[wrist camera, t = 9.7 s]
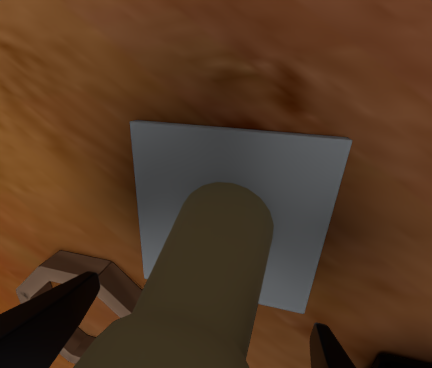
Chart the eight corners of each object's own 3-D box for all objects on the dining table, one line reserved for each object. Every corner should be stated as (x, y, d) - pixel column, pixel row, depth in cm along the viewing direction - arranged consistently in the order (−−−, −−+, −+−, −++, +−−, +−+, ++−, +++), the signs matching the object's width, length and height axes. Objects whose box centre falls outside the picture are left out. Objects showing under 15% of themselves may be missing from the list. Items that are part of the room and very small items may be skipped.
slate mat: (347, 137, 12) (352, 140, 11) (302, 304, 16) (303, 313, 16) (136, 120, 14) (129, 121, 13) (149, 271, 18) (144, 278, 18)
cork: (183, 172, 14) (-52, 386, 4) (285, 194, 13) (338, 556, 3) (177, 251, 16) (23, 512, 6) (261, 274, 15) (245, 625, 5)
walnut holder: (151, 269, 18) (138, 289, 17) (158, 364, 23) (149, 387, 21) (26, 243, 21) (2, 257, 19) (56, 334, 25) (39, 352, 24)
